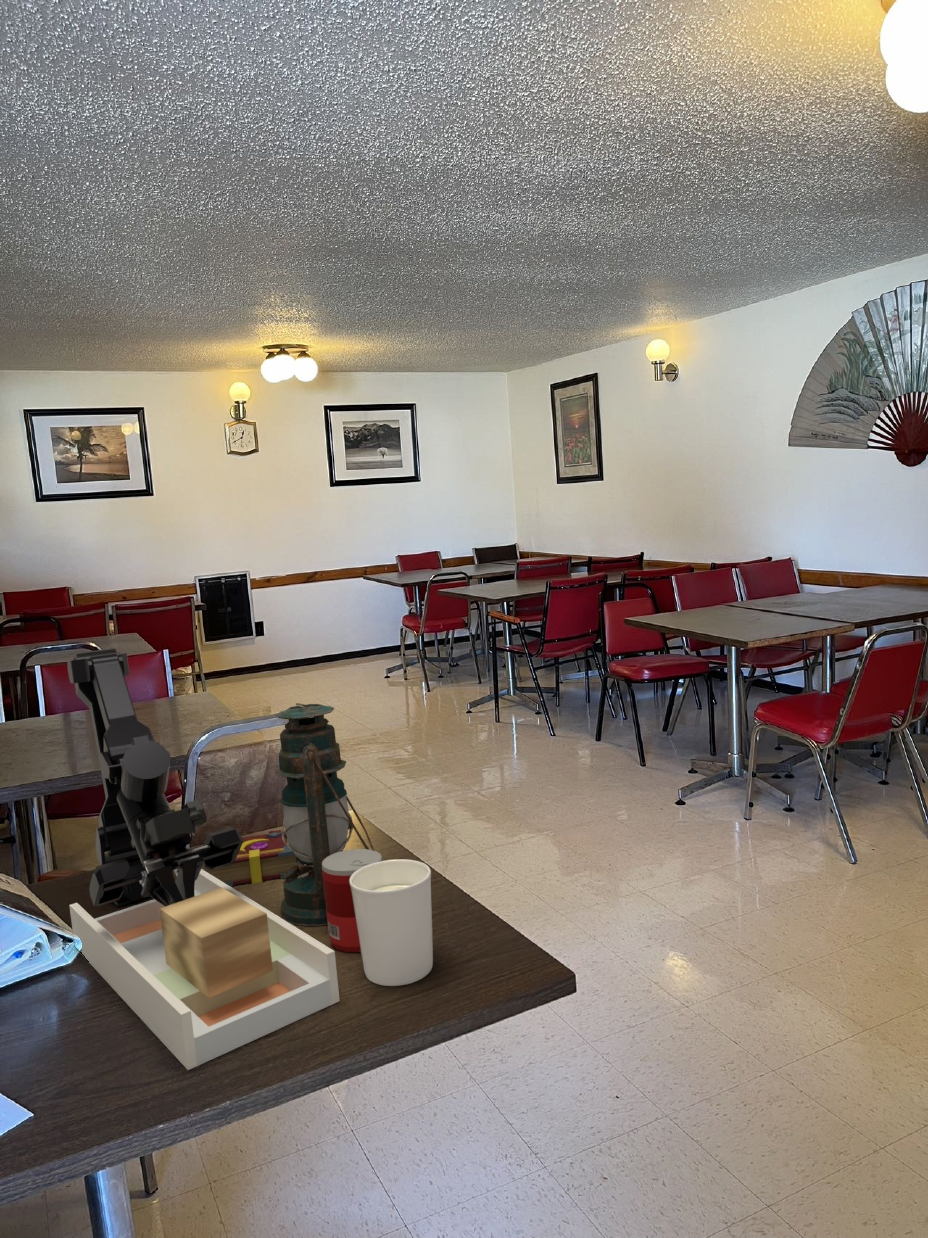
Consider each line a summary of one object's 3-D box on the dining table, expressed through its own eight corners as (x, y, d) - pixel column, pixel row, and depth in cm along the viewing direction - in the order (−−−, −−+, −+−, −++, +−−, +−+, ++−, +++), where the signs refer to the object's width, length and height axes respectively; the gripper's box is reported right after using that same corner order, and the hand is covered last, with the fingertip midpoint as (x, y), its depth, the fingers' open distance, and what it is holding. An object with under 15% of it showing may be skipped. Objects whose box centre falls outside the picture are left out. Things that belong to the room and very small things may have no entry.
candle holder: (450, 953, 112) (442, 861, 111) (421, 994, 103) (412, 893, 102) (379, 947, 115) (370, 857, 114) (344, 986, 106) (334, 888, 105)
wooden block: (166, 963, 109) (159, 908, 108) (227, 940, 114) (221, 887, 113) (208, 998, 100) (201, 938, 99) (272, 971, 105) (266, 913, 104)
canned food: (380, 954, 113) (372, 870, 112) (320, 953, 115) (312, 870, 114) (396, 927, 121) (389, 848, 120) (340, 926, 122) (332, 848, 121)
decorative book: (212, 867, 150) (208, 838, 149) (309, 852, 153) (306, 823, 153) (207, 893, 139) (204, 861, 138) (312, 876, 142) (309, 845, 142)
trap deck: (74, 947, 123) (69, 905, 122) (200, 904, 134) (196, 865, 133) (187, 1070, 92) (181, 1014, 91) (339, 1001, 103) (334, 951, 102)
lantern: (279, 888, 138) (259, 696, 134) (372, 873, 140) (354, 685, 137) (281, 944, 119) (257, 721, 115) (388, 925, 121) (368, 708, 118)
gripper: (84, 804, 108) (125, 918, 101) (229, 768, 120) (276, 868, 112) (73, 851, 115) (111, 961, 108) (211, 813, 127) (254, 910, 119)
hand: (191, 923), depth 112 cm, fingers closed
